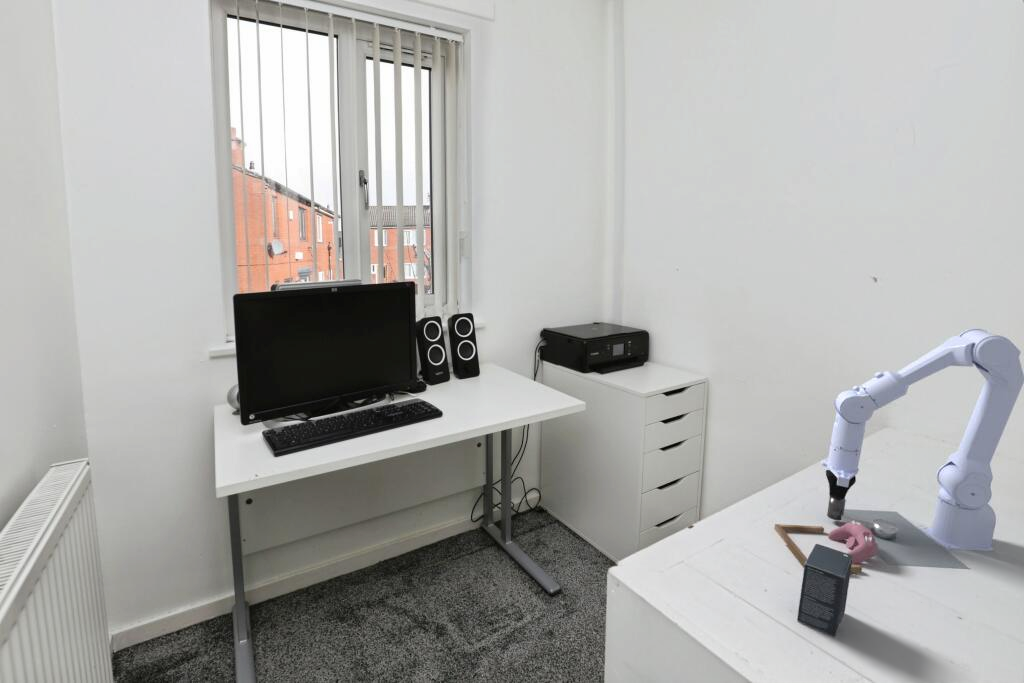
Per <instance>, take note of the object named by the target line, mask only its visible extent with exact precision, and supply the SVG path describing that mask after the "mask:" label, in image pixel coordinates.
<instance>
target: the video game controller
mask: <svg viewBox="0 0 1024 683" xmlns="http://www.w3.org/2000/svg"><path fill="white" fill-rule="evenodd" d="M827 538H828V539H829V540H831V541H836V542H843V541H846V544H845V546H846V548H847V549H850V551H848V552H846V553H847V554H850V555H852V556H853V558H852V565H859V564H861V563H863V562H865V561H867V560H869V559H870V558H874V557H875V556H876V554H877V551H878V544H877V543H876V542H875V538H874V535H873V534H872V532H871V531H870V530H869V529H868V528H867V527H865V526H864V525H862V524H860V523H857V522H856V523H855V521H852V522H848V523H846V524H845V523H844V524H843V525H841V526H840V527H837V528H835V529H832V530H831V531H829V533H828V537H827Z"/></svg>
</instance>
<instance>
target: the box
mask: <svg viewBox="0 0 1024 683" xmlns="http://www.w3.org/2000/svg"><path fill="white" fill-rule="evenodd" d="M847 553H848V552H843V551H841V550H837V549H834V548H831V547H829V546H825V545H821V544H820V543H819V544H818V543H816V544H814V546H813V549H812V550H811V552H810V553H809V555H808V558H807V561H806V562H805V566H804V568H803V575H802V581H801V589H800V597H799V604H798V612H797V619H796V621H797V622H799V623H801V624H804V625H805V626H808V627H810V628H812V629H815V630H817V631H820V632H822V633H824V634H826V635H830V636H832V637H835V636H836V635H837V633H838V630H839V628H840V625H841V624H842V620H843V617H844V614H845V612H846V605H847V600H848V599H847V598H848V592H849V585H850V578H851V574H850V572H851V566H852V565H853V564H852V558H853V556H852V555H850V554H847Z"/></svg>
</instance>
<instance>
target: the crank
mask: <svg viewBox="0 0 1024 683" xmlns="http://www.w3.org/2000/svg"><path fill="white" fill-rule="evenodd" d="M846 501H847V499H846V497H845V498H843V497H841V496H837V495H831V496H829V500H828V506H827V512H826V516H827V517H828V519H831V520H834V521H839V522H840V521H842V520H845V521H848V522H852V521H855V523H856V522H857V523H860V524H862V525H864V526H867V527H871V532H872V533H873V534H874V535H876V536H878V537H880V538H884V539H889V540H893V539H896V536H897V530H898V526H897V525H896V524H894V523H892V522H890V521H887V520H883V519H874V520H872V519H868V518H864V517H860V516H856V515H852V514H848V513H844V509H846V508H845V507H846Z"/></svg>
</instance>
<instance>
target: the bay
mask: <svg viewBox="0 0 1024 683" xmlns="http://www.w3.org/2000/svg"><path fill="white" fill-rule="evenodd" d="M774 531H775V532H776V533H777V535H779V536H780V538H781V539H782V540H783V542H784V543H785V546H786V547H787V549H788V550H789V551H790V553H791V554H792V555H793V556H794V558H795V559H796V560H797V562H798V563H800V566H802V568H803V569H804V566H805V562H806V561H807V559H808V558H807V557H806V555H805V554H804V552H803V551H802V550H801V549H800V548H799V547H798V546H797V544H796V543H795V542H794V541H793V540H792V539H791V537H790V536H789V535H788V534H787V533H806V534H824V533H825V527H824V526H822V525H821V526H816V525H800V524H799V525H797V524H780V523H779V524H778V523H774ZM862 569H863V567H862V565H860V564H852V566H851V572H850V575H856V576H857V575H858V574H861V573H862Z"/></svg>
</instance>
